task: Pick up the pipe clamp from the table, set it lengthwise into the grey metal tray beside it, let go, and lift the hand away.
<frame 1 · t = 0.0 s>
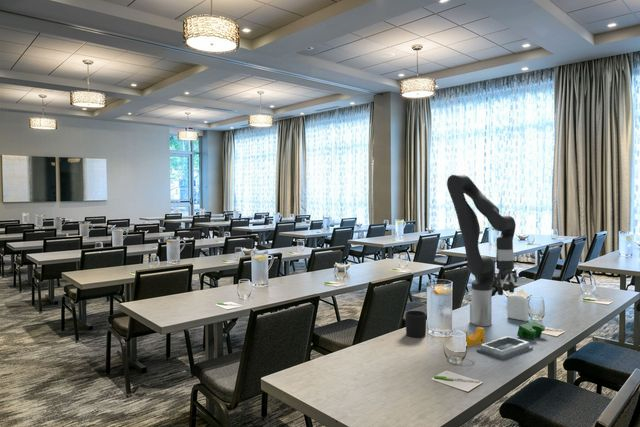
hand: (506, 293, 212), 17 cm above the table, tool pointing down, fingers open, 8 cm apart
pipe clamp: (470, 344, 196), on the table
grey metal tray: (505, 350, 186), on the table
clamp: (531, 337, 202), on the table
white napkin holder: (517, 319, 231), on the table
pen holder: (415, 335, 208), on the table
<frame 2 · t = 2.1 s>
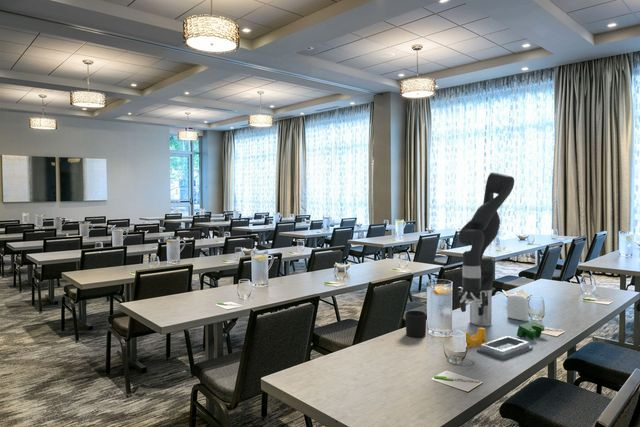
hand: (472, 313, 195), 13 cm above the table, tool pointing down, fingers open, 8 cm apart
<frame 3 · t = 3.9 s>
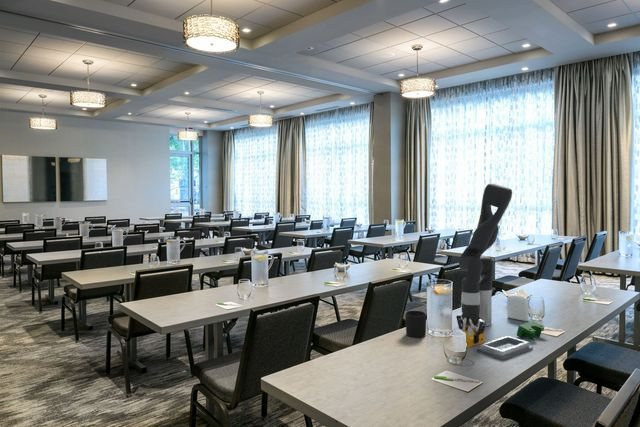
hand: (470, 341, 195), 1 cm above the table, tool pointing down, fingers closed on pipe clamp, 4 cm apart
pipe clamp: (470, 344, 195), on the table, touching gripper
everything else where it was.
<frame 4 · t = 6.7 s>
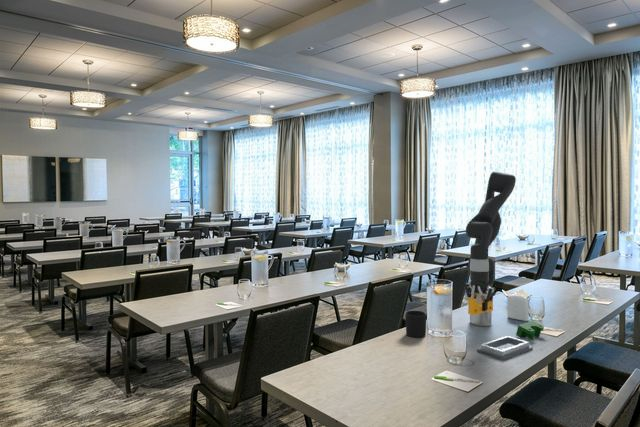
hand: (479, 309, 192), 15 cm above the table, tool pointing down, fingers closed on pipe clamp, 4 cm apart
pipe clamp: (479, 312, 192), point 14 cm above the table, touching gripper
everything else where it was.
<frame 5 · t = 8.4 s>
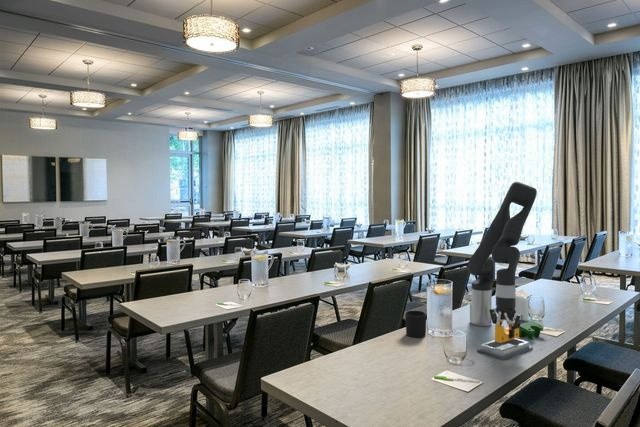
hand: (505, 336, 186), 6 cm above the table, tool pointing down, fingers closed on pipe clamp, 4 cm apart
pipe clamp: (505, 339, 186), point 5 cm above the table, touching gripper
everything else where it was.
when the fingers open (3 cm above the table, at t = 9.6 s): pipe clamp drops 1 cm, resting on grey metal tray.
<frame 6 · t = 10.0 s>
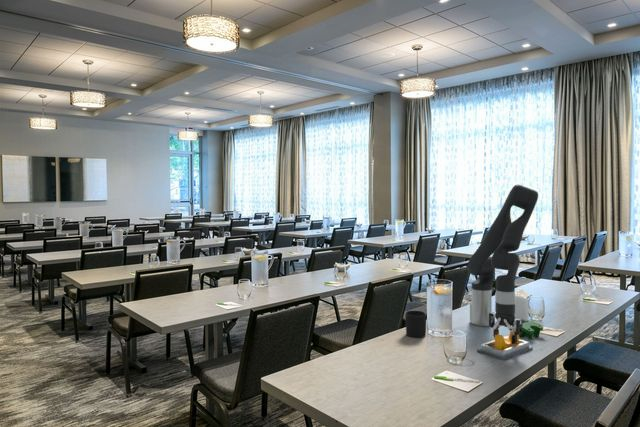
hand: (505, 341, 186), 4 cm above the table, tool pointing down, fingers open, 7 cm apart
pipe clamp: (505, 348, 186), point 1 cm above the table, touching grey metal tray
everything else where it was.
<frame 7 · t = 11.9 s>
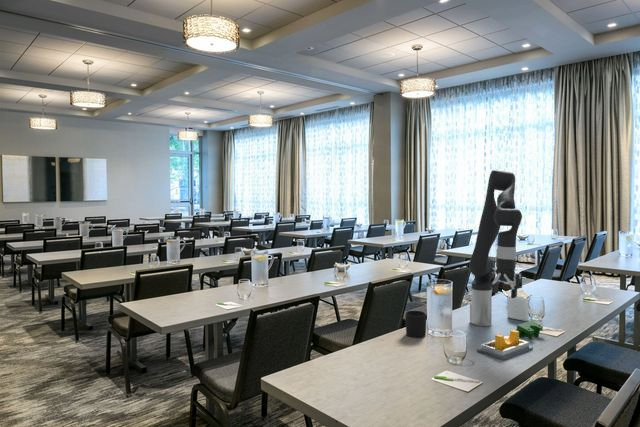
hand: (504, 295, 190), 22 cm above the table, tool pointing down, fingers open, 8 cm apart
nothing on the table moved.
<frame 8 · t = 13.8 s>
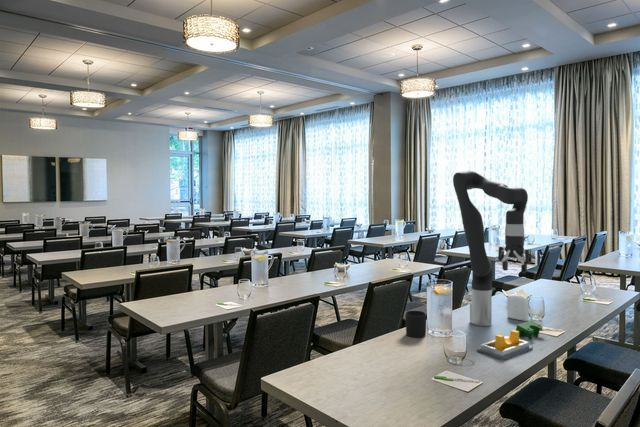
hand: (514, 271, 197), 30 cm above the table, tool pointing down, fingers open, 8 cm apart
at the end: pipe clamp 0.2 cm off-centre on the grey metal tray, point 0.8 cm above the grey metal tray's base; the gripper is holding nothing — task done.
